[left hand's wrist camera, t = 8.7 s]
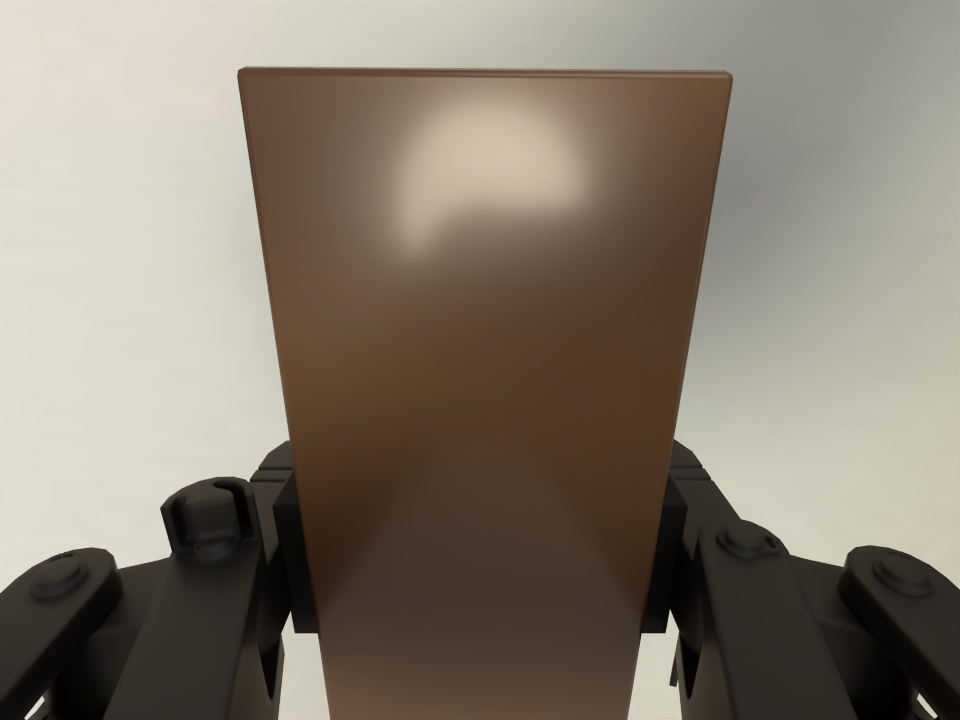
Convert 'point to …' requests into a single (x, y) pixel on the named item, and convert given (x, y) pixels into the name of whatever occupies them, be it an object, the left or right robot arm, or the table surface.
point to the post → (482, 366)
